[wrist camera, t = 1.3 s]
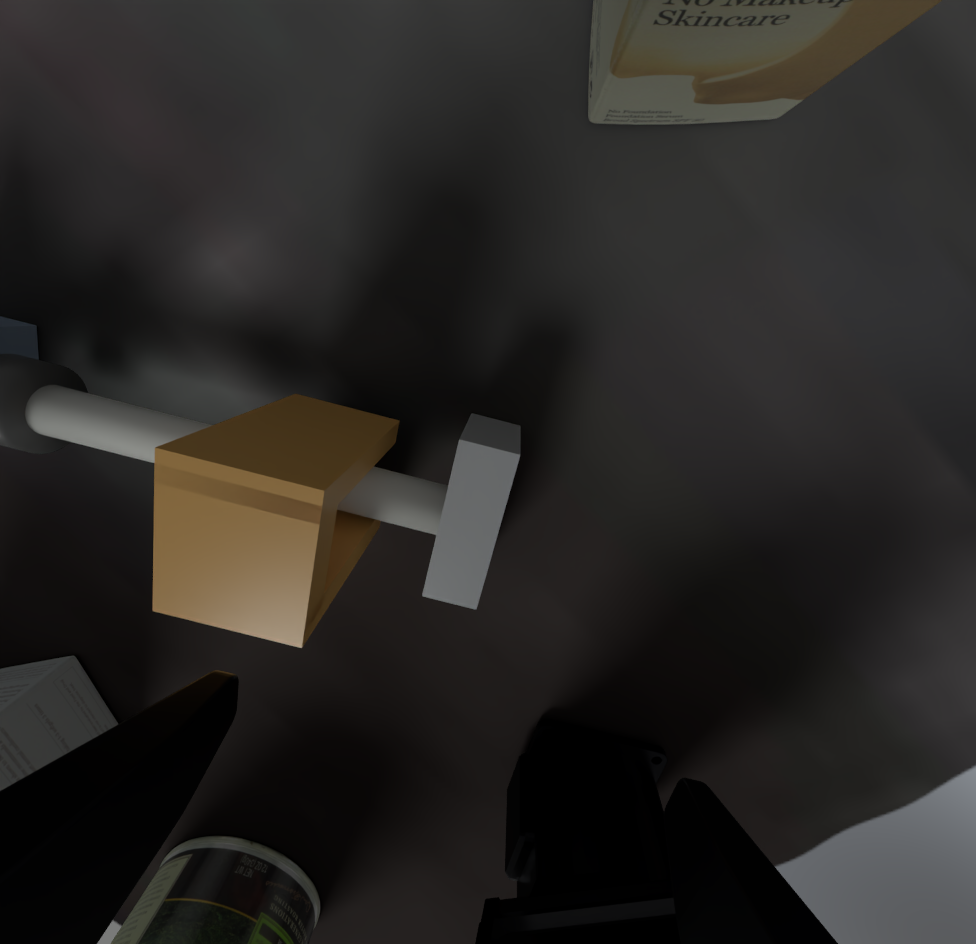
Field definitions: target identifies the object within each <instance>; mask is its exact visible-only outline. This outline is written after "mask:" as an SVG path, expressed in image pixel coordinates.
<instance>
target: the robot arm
mask: <svg viewBox="0 0 976 944" xmlns="http://www.w3.org/2000/svg"><path fill="white" fill-rule="evenodd" d="M238 683H239V681H238V677H237V675H235V674H232V673H228V672H223V671H218V670H217V671H213V672H210V673H208V674H207V675H205V676H203V677H201V678H199V679H198V680H196V681H194V682H192V683H191V684H189V685H187V686H185V687H183V688H182V689H180V690H178V691H176V692H175V693H173V694H171V695H169V696H168V697H166V698H164V699H162V700H160V701H159V702H157V703H155V704H153V705H152V706H150V707H148V708H146V709H144V710H143V711H141V712H139V713H137V714H136V715H134V716H132V717H130V718H129V719H127V720H125V721H123V722H121V723H120V724H118V725H116V726H114V727H113V728H111V729H109V730H107V731H105V732H104V733H102V734H100V735H98V736H97V737H95V738H93V739H91V740H90V741H88V742H86V743H84V744H82V745H81V746H79V747H77V748H75V749H74V750H72V751H70V752H68V753H66V754H65V755H63V756H61V757H59V758H58V759H56V760H54V761H52V762H51V763H49V764H47V765H45V766H43V767H42V768H40V769H38V770H36V771H35V772H33V773H31V774H29V775H27V776H26V777H24V778H22V779H20V780H19V781H17V782H15V783H13V784H11V785H10V786H8V787H6V788H4V789H3V790H1V791H0V944H97V943H98V941H99V940H100V938H101V937H102V935H103V934H104V932H105V931H106V929H107V928H108V926H109V925H110V923H111V922H112V920H113V919H114V917H115V916H116V914H117V913H118V911H119V910H120V908H121V907H122V905H123V904H124V902H125V901H126V899H127V898H128V896H129V895H130V893H131V892H132V890H133V889H134V887H135V886H136V884H137V882H138V881H139V879H140V878H141V876H142V875H143V873H144V872H145V870H146V869H147V867H148V866H149V864H150V863H151V861H152V860H153V858H154V857H155V855H156V854H157V852H158V851H159V849H160V848H161V846H162V845H163V843H164V842H165V840H166V839H167V837H168V836H169V834H170V833H171V831H172V830H173V828H174V827H175V825H176V823H177V822H178V820H179V819H180V817H181V816H182V814H183V812H184V811H185V809H186V807H187V805H188V803H189V802H190V800H191V798H192V796H193V794H194V793H195V791H196V789H197V787H198V785H199V783H200V782H201V780H202V778H203V776H204V774H205V772H206V770H207V769H208V767H209V765H210V763H211V761H212V759H213V757H214V756H215V754H216V752H217V750H218V748H219V746H220V745H221V743H222V741H223V739H224V737H225V735H226V733H227V732H228V730H229V728H230V726H231V724H232V722H233V720H234V717H235V714H236V711H237V699H238ZM545 730H549V731H545ZM666 763H667V758H666V755H665V751H664V749H663V748H662V747H659V746H656V745H652V744H648V743H644V742H640V741H636V740H632V739H628V738H624V737H620V736H616V735H612V734H608V733H603V732H599V731H595V730H591V729H587V728H583V727H579V726H575V725H571V724H567V723H563V722H559V721H555V720H551V719H543V720H541V721H539V723H538V724H537V727H536V729H535V732H534V735H533V737H532V740H531V743H530V745H529V748H528V751H527V753H523V754H522V755H521V756H519V759H518V762H517V764H516V767H515V770H514V772H513V775H512V778H511V781H510V783H509V786H508V789H507V817H506V853H505V873H506V874H507V876H508V878H509V879H511V880H515V881H517V898H512V899H504V900H500V899H499V897H497V898H489V899H486V900H485V904H484V909H483V914H482V919H481V922H480V923H479V927H478V933H477V938H476V943H475V944H838V943H837V942H836V941H835V939H834V938H833V937H832V936H831V935H830V934H829V932H828V931H827V930H826V929H825V927H824V926H823V925H822V924H821V923H820V921H819V920H818V919H817V918H816V917H815V915H814V914H813V913H812V912H811V910H810V909H809V908H808V907H807V906H806V904H805V903H804V902H803V901H802V899H801V898H800V897H799V896H798V895H797V893H796V892H795V891H794V890H793V889H792V887H791V886H790V885H789V884H788V883H787V881H786V880H785V879H784V878H783V877H782V875H781V874H780V873H779V872H778V871H777V869H776V868H775V867H774V866H773V864H772V863H771V862H770V861H769V859H768V858H767V857H766V856H765V855H764V853H763V852H762V851H761V850H760V849H759V847H758V846H757V845H756V844H755V843H754V841H753V840H752V839H751V838H750V836H749V835H748V834H747V833H746V832H745V830H744V829H743V828H742V827H741V826H740V824H739V823H738V822H737V821H736V820H735V818H734V817H733V816H732V815H731V813H730V812H729V811H728V810H727V809H726V807H725V806H724V805H723V804H722V803H721V801H720V800H719V799H718V798H717V796H716V795H715V794H714V793H713V792H712V790H711V789H710V788H709V787H708V786H707V785H706V784H705V783H703V782H701V781H697V780H692V779H688V778H682V779H680V780H679V781H678V783H677V785H676V787H675V789H674V791H673V793H672V795H671V797H670V799H669V801H668V803H667V805H666V808H665V811H663V808H662V804H661V801H660V797H659V794H658V790H657V787H656V783H657V781H658V779H659V777H660V775H661V773H662V771H663V769H664V767H665V765H666Z"/></svg>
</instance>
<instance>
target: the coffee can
mask: <svg viewBox="0 0 976 944" xmlns="http://www.w3.org/2000/svg"><path fill="white" fill-rule="evenodd" d="M319 914H320V899H319V895H318V892H317V890H316V887H315V885H314V884H313V882H312V880H311V879H310V878H309V877H308V876H307V875H306V873H305V872H304V871H303V870H302V869H301V868H300V867H299V866H298V865H297V864H296V863H295V862H293V861H292V860H290V859H289V858H288V857H286V856H285V855H283V854H281V853H280V852H278V851H276V850H274V849H272V848H270V847H267V846H265V845H262V844H260V843H257V842H253V841H250V840H246V839H242V838H239V837H233V836H205V837H199V838H194V839H192V840H189V841H186V842H184V843H182V844H180V845H178V846H177V847H175V848H174V849H173V850H172V851H170V852H169V853H168V855H167V856H166V857H165V858H164V860H163V862H162V863H161V865H160V867H159V870H158V872H157V873H156V875H155V877H154V878H153V880H152V881H151V883H150V884H149V886H148V887H147V889H146V890H145V892H144V893H143V895H142V896H141V898H140V900H139V901H138V903H137V904H136V906H135V907H134V909H133V910H132V912H131V913H130V915H129V916H128V918H127V919H126V921H125V922H124V924H123V925H122V927H121V929H120V930H119V932H118V933H117V935H116V936H115V938H114V939H113V941H112V943H111V944H309V940H310V937H311V935H312V932H313V929H314V927H315V926H316V923H317V921H318V918H319Z"/></svg>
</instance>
